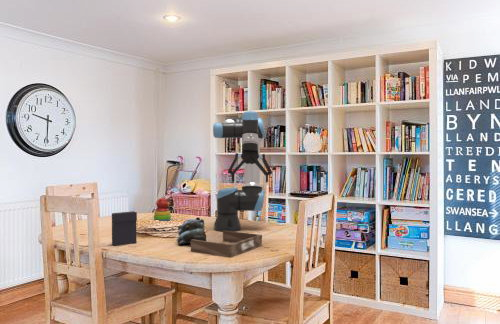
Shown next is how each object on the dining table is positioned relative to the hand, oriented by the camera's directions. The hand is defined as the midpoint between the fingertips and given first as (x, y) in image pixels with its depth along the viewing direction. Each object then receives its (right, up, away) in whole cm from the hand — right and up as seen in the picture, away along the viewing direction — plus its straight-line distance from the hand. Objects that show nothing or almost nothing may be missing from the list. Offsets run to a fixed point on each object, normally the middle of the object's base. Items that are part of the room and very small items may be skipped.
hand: (249, 189), depth 200 cm
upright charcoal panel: (-59, -27, +8) cm, 66 cm away
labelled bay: (-11, -27, 0) cm, 29 cm away
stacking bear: (-49, -26, +46) cm, 71 cm away
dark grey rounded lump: (-28, -27, +10) cm, 40 cm away
